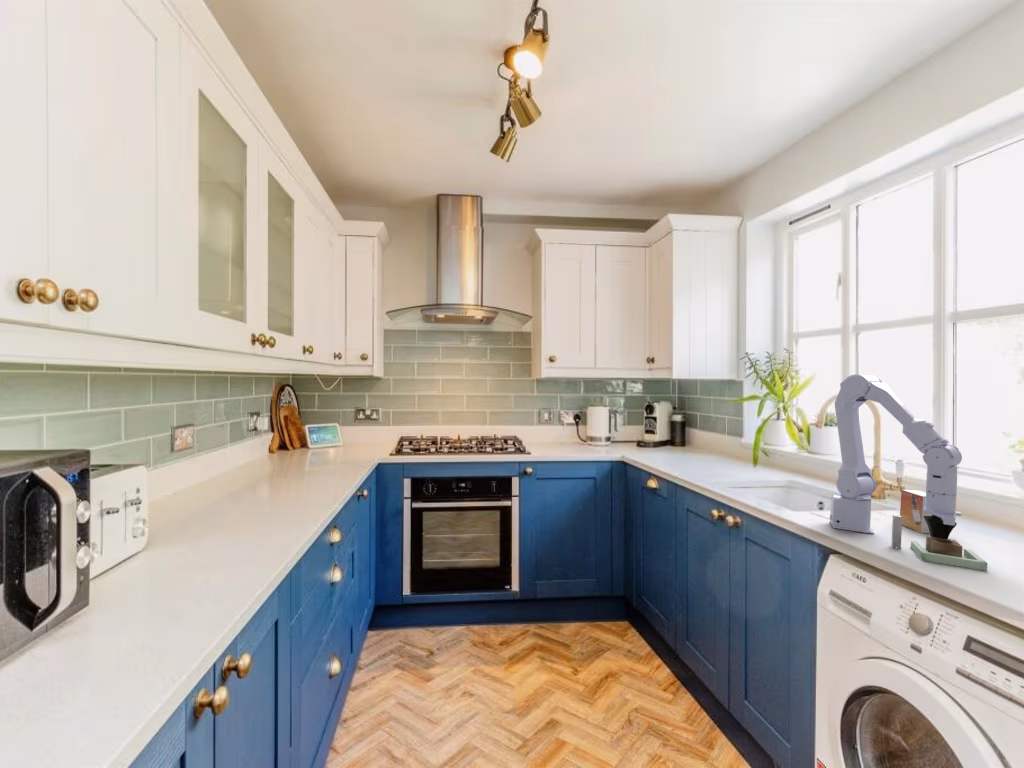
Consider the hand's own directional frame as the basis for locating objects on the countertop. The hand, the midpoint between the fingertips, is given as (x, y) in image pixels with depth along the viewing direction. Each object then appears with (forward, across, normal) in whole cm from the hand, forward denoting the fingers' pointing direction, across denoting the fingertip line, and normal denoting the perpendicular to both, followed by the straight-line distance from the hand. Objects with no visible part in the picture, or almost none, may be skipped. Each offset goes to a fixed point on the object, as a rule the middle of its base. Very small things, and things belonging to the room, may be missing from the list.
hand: (938, 546), depth 120 cm
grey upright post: (+1, -3, +9) cm, 10 cm away
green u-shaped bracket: (+1, -6, 0) cm, 6 cm away
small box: (+1, +21, -1) cm, 21 cm away
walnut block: (+1, -4, 0) cm, 4 cm away
